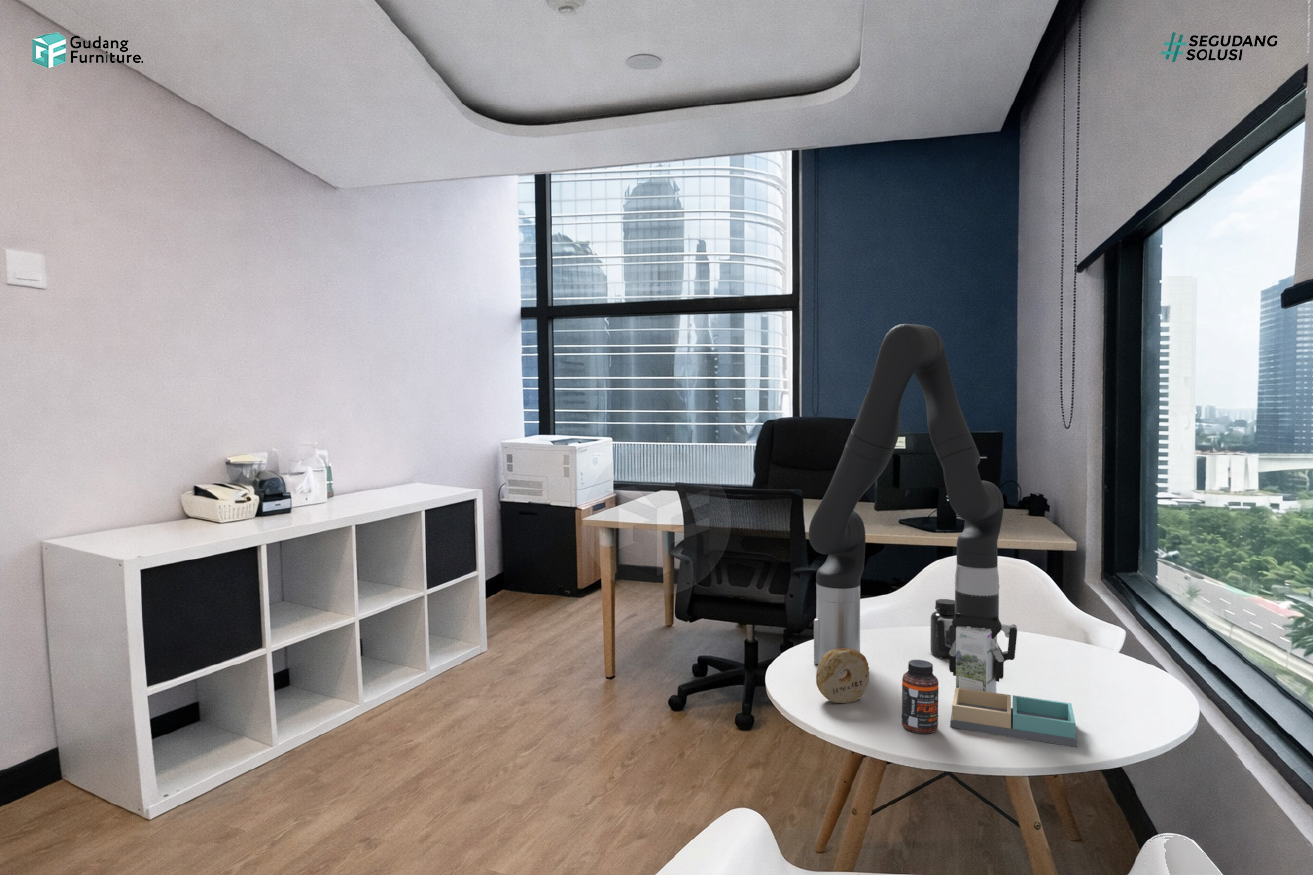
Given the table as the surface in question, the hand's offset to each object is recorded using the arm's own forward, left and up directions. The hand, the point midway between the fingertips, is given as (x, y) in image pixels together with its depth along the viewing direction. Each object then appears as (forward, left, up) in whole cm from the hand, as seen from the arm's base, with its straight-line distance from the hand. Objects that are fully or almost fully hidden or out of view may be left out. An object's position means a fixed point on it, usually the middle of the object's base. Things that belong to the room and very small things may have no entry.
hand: (976, 677), depth 141 cm
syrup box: (0, 0, -5) cm, 5 cm away
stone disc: (-23, -9, -5) cm, 25 cm away
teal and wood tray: (+6, -8, -5) cm, 11 cm away
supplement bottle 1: (-8, -16, -5) cm, 19 cm away
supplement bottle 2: (-7, +27, -5) cm, 28 cm away
